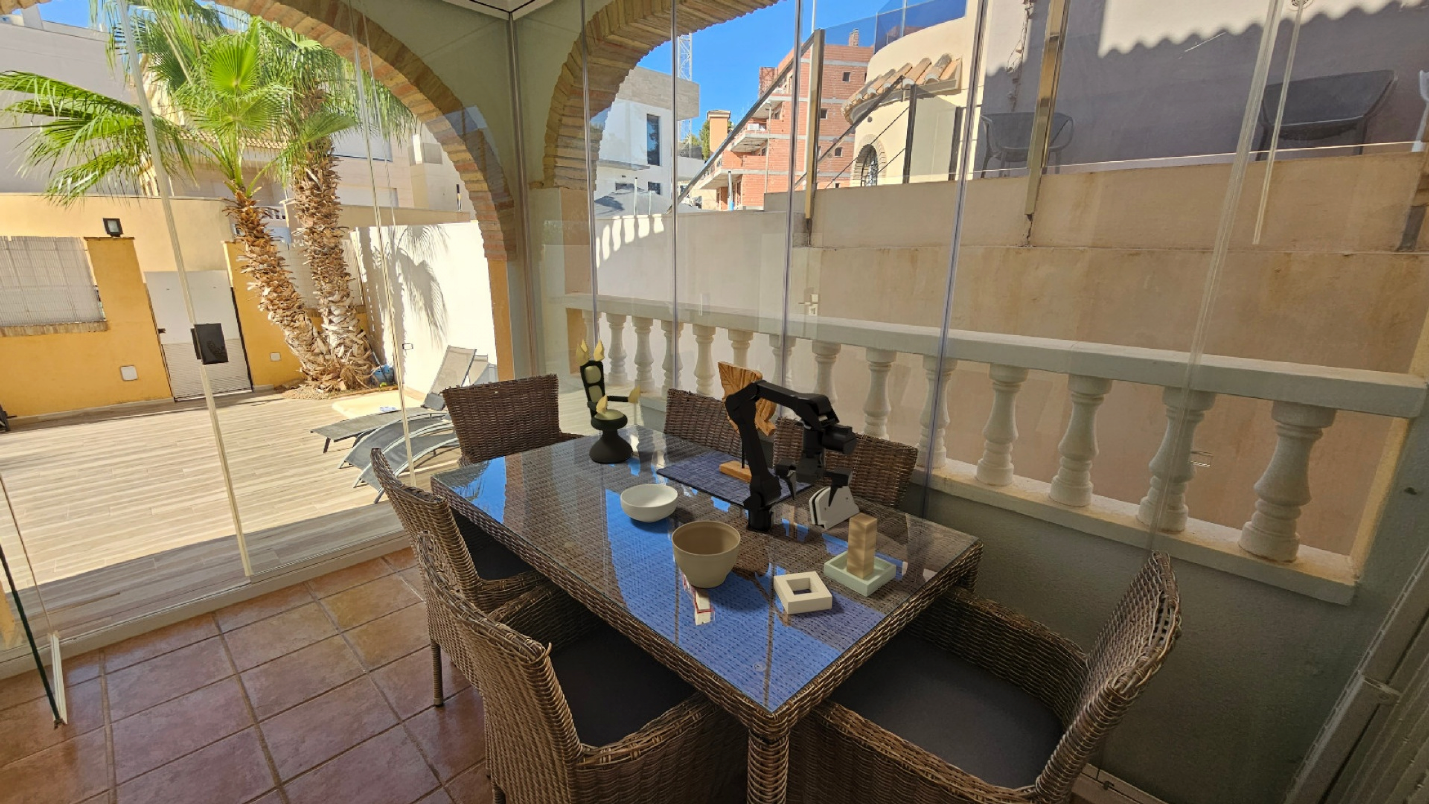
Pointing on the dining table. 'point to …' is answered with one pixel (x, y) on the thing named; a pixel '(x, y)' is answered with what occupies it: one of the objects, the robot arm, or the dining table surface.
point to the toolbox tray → (866, 586)
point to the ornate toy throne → (603, 407)
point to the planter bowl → (705, 551)
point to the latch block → (802, 602)
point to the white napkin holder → (832, 507)
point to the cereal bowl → (649, 502)
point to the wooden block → (861, 545)
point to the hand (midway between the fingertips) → (811, 503)
